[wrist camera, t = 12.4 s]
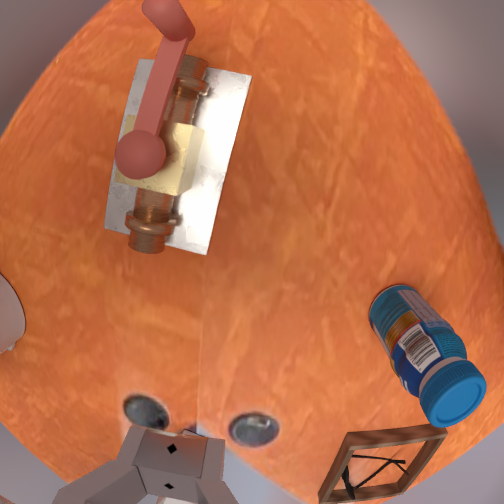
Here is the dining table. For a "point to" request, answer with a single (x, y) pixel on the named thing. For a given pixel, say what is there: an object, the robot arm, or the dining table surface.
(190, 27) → the lever
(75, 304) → the dining table surface
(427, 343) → the beverage bottle
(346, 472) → the sunglasses
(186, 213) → the valve body
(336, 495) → the glasses tray
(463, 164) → the dining table surface
